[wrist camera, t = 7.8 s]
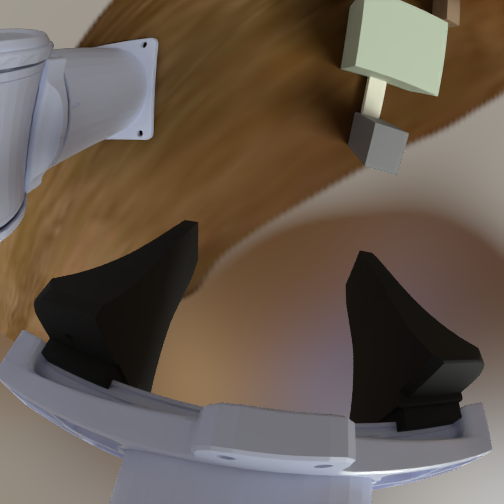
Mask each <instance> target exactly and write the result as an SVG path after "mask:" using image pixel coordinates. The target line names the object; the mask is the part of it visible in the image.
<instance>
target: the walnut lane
mask: <svg viewBox="0 0 504 504" xmlns="http://www.w3.org/2000/svg"><path fill="white" fill-rule="evenodd" d="M432 15H434V16H436V17H438V18H440V19H442V20H444V21H445V22H447V23H448V28H449V27H455V26H459V18H460V0H433V8H432Z"/></svg>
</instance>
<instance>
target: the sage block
mask: <svg viewBox="0 0 504 504" xmlns="http://www.w3.org/2000/svg"><path fill="white" fill-rule="evenodd" d="M447 30H448V23H447V22H445V21H444V20H442V19H440V18H438V17H436V16H434V15H432V14H430V13H428V12H426V11H424V10H421V9H419V8H417V7H415V6H412V5H410V4H408V3H405V2H403V1H400V0H355V1H354V2H353V3H352V5H351V6H350V8H349V16H348V24H347V31H346V38H345V44H344V51H343V57H342V63H341V69H342V70H346V71H350V72H353V73H357V74H360V75H364V76H367V77H368V78H367V83H366V88H365V94H364V99H363V104H362V108H361V113H358V112H355V114H354V119H353V124H352V128H351V133H350V137H349V141H348V146H349V147H350V148H351V150H352V151H353V152H354V153H355V155H356V156H357V157H358V158H359V160H360V161H361V162H362V163H363V165H364V166H366V167H370V168H373V169H377V170H381V171H384V172H388V173H391V174H395V175H397V173H398V170H399V167H400V164H401V160H402V157H403V153H404V150H405V146H406V142H407V139H408V135H409V133H407V132H405V131H403V130H401V129H399V128H398V127H396V126H394V125H392V124H390V123H388V122H386V121H384V120H382V119H379V117H380V113H381V108H382V103H383V98H384V93H385V88H386V83H389V84H391V85H394V86H397V87H400V88H402V89H405V90H408V91H413V92H418V93H424V94H429V95H434V96H438V93H439V88H440V82H441V77H442V70H443V64H444V57H445V49H446V40H447Z"/></svg>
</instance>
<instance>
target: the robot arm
mask: <svg viewBox="0 0 504 504" xmlns="http://www.w3.org/2000/svg"><path fill="white" fill-rule="evenodd" d="M145 42H147V46H146V47H145V48H144V47H143V44H144V43H145ZM53 47H54V44H53V42H52V41H50V40H49V38H48V36H47V34H46V33H45V32H42V31H38V30H31V29H0V241H2V240H3V239H5V238H6V237H7V236H9V235H10V234H11V233H12V232H13V231H14V230H15V229H16V227H17V226H18V225H19V223H20V222H21V220H22V219H23V216H24V214H25V211H26V206H27V193H29V192H30V191H31V190H33V189H34V188H36V187H37V186H39V185H40V184H41V180H42V177H43V174H44V173H45V172H46V171H47V170H48V169H50V168H51V167H53V166H55V165H56V164H58V163H60V162H62V161H63V160H65V159H67V158H69V157H71V156H72V155H74V154H76V153H78V152H80V151H82V150H84V149H86V148H88V147H90V146H92V145H94V144H96V143H98V142H100V141H102V140H104V139H132V140H148V139H150V138H152V136H153V133H154V97H155V78H156V64H157V53H158V40H157V39H155V38H145V39H138V40H131V41H124V42H118V43H113V44H108V45H103V46H98V47H94V48H65V49H53ZM140 130H141V131H142V132H143V136H141V135H140V133H139V132H140ZM197 261H198V222H193V221H187V220H185V221H183V222H181V223H180V224H178V225H176V226H175V227H173V228H172V229H170V230H169V231H167V232H166V233H164V234H163V235H161V236H159V237H158V238H156V239H155V240H153V241H151V242H150V243H148V244H146V245H144V246H143V247H141V248H139V249H138V250H136V251H134V252H132V253H130V254H128V255H126V256H124V257H121V258H119V259H117V260H115V261H112V262H109V263H107V264H104V265H102V266H99V267H96V268H93V269H90V270H87V271H83V272H80V273H76V274H72V275H67V276H62V277H58V278H52V279H51V280H50V282H49V283H48V284H47V285H46V287H45V288H44V289H43V290H42V292H41V293H40V294H39V295H38V297H37V298H36V299H35V301H34V308H35V312H36V315H37V317H38V319H39V320H40V322H41V324H42V325H43V327H44V329H45V331H46V332H47V334H48V335H49V337H50V339H49V340H48V342H47V344H46V343H45V342H44V341H43V340H42V339H40V338H39V337H37V336H35V335H33V334H31V333H29V332H27V331H26V330H22V332H21V333H20V335H19V336H18V338H17V339H16V341H15V342H14V344H13V345H12V347H11V348H10V350H9V352H8V353H7V355H6V356H5V358H4V360H3V361H2V363H1V365H0V381H1V382H2V383H3V384H4V385H5V386H6V387H7V388H8V389H9V390H10V391H11V392H12V393H13V394H15V396H17V397H18V398H19V399H20V400H21V401H22V402H23V403H24V404H26V405H27V406H28V407H30V408H31V409H33V410H34V411H36V412H37V413H39V414H40V415H42V416H43V417H45V418H47V419H48V420H50V421H51V422H53V423H55V424H56V425H58V426H59V427H61V428H63V429H64V430H66V431H68V432H70V433H71V434H73V435H75V436H77V437H79V438H80V439H82V440H84V441H86V442H88V443H90V444H92V445H94V446H96V447H98V448H100V449H102V450H104V451H106V452H108V453H111V454H113V455H115V456H117V457H120V458H122V459H123V461H122V463H121V467H120V470H119V473H118V476H117V479H116V482H115V485H114V489H113V492H112V496H111V499H110V502H109V504H371V503H372V490H375V489H382V488H387V487H392V486H397V485H401V484H406V483H410V482H414V481H418V480H422V479H426V478H430V477H433V476H436V475H439V474H443V473H446V472H449V471H453V470H455V469H457V468H460V467H462V466H464V465H466V464H468V463H470V462H472V461H474V460H476V459H478V458H480V457H482V456H484V455H485V454H487V453H489V452H491V450H492V446H491V440H490V434H489V430H488V425H487V420H486V416H485V411H484V407H483V403H481V402H480V403H475V404H470V405H466V406H463V407H461V408H460V406H459V402H460V401H462V394H461V392H462V391H463V390H464V389H465V388H466V387H468V386H469V385H470V384H471V383H472V382H473V381H474V380H475V379H476V378H477V377H478V376H479V375H480V374H481V372H482V370H483V368H484V362H483V359H482V357H481V354H480V351H479V349H478V348H477V347H476V346H474V345H472V344H470V343H468V342H467V341H465V340H464V339H462V338H460V337H459V336H457V335H456V334H455V333H453V332H452V331H450V330H449V329H447V328H446V327H445V326H443V325H442V324H441V323H439V322H438V321H437V320H436V319H435V318H433V317H432V316H431V315H430V314H429V313H428V312H426V311H425V310H424V309H423V308H422V307H421V306H420V305H419V304H418V303H417V302H416V301H415V300H414V299H413V298H412V297H411V296H410V295H409V294H408V293H407V292H406V290H405V289H404V288H403V287H402V286H401V285H400V284H399V283H398V281H397V280H396V279H395V278H394V277H393V276H392V275H391V273H390V272H389V271H388V270H387V269H386V267H385V266H384V265H383V264H382V263H381V262H380V261H379V259H378V258H377V257H376V256H375V255H374V254H372V253H370V252H365V251H359V254H358V257H357V259H356V262H355V264H354V267H353V269H352V271H351V274H350V277H349V278H348V281H347V283H346V305H347V311H348V317H349V324H350V330H351V337H352V344H353V360H354V361H353V364H354V365H353V366H354V367H353V371H354V372H353V392H352V404H351V412H350V419H348V418H347V417H345V416H340V415H333V414H322V413H307V412H295V411H285V410H276V409H269V408H261V407H255V406H247V405H242V404H230V403H216V404H209V405H207V406H204V407H202V406H197V405H193V404H189V403H185V402H181V401H177V400H174V399H170V398H167V397H163V396H160V395H156V394H153V393H151V389H152V385H153V380H154V376H155V372H156V368H157V364H158V360H159V357H160V353H161V350H162V347H163V343H164V340H165V337H166V334H167V331H168V328H169V325H170V322H171V320H172V318H173V315H174V313H175V311H176V309H177V307H178V305H179V303H180V301H181V299H182V297H183V295H184V293H185V291H186V289H187V287H188V285H189V283H190V280H191V278H192V276H193V273H194V270H195V267H196V264H197Z"/></svg>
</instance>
